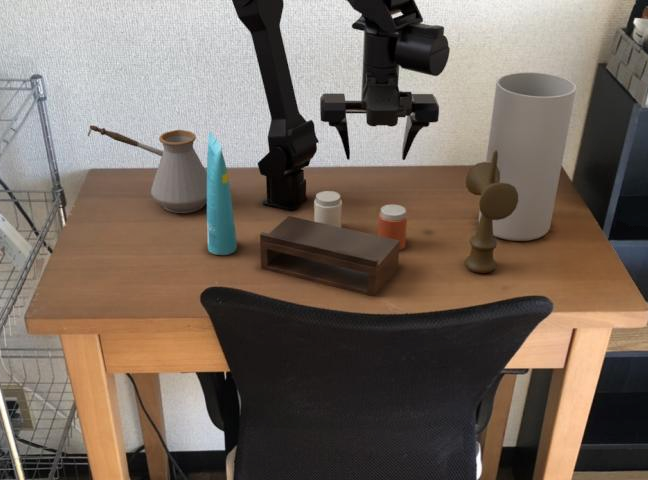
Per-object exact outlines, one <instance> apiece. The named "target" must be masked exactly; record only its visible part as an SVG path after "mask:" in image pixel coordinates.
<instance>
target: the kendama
mask: <svg viewBox="0 0 648 480" xmlns="http://www.w3.org/2000/svg"><path fill="white" fill-rule="evenodd" d="M497 159H498V152H497V150H495V151H494V153H493V157H492V162H491V163H489V162H486V161H482V162H479V163H475V164H474V165H473V166H471V167H470V169H469V170H467V171H468V172H467V174H466V177H465V184H466V185H465V187H466V189H467V191H468V192H469V193H471V194H472V195H475V196H480V197H479V201H478V208H479V209H478V210H479V212H481V213H482V214H481V218H480V221H479V220H478V225H477V228H476V230H475V233H474V235H473V236H471V237H470V239H469V244H470V246H471V247H470V253H469V255H468V256H467V257H466V258H465V260H464V265H465V267H466V268H467V270H469V271H471V272H474V273H478V274H486V273H491V272H492V271H494V270H495V269H496V268H497V264H496V261H495V259H494V250H495V249H496V247H497V246H498V241H497V239H495V236H493V220H500V219H504V218H506V217H508V216H510V215H511V214H512V213H513V211H514V210H515V209H516V206H517V203H518V193H517V191H516V188H515V187H514V186H512V185H510V184H508V183H499V182H500V171H499V169H498V167H497Z"/></svg>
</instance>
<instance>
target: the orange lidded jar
mask: <svg viewBox="0 0 648 480" xmlns="http://www.w3.org/2000/svg"><path fill="white" fill-rule="evenodd" d="M407 225H408V213H407V209H406V207H404V206H402V205H400V204H385V205H383V206H382V207H381V208H380V211H379V213H378V222H377V236H381V237H386V238H390V239H395V240H399V241H400V246H399V251H401V250H403V249H404V248H405V247H406V240H407V227H408V226H407Z"/></svg>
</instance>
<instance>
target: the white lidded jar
mask: <svg viewBox="0 0 648 480" xmlns="http://www.w3.org/2000/svg"><path fill="white" fill-rule="evenodd" d="M342 216H343V200H342V199H341V194H340V193H339V192H337V191H332V190H324V191H319V192H318V193H316V195H315V199H314V200H313V221H314V222H318V223H323V224H327V225H332V226H336V227H341V228H342V222H343V220H342Z"/></svg>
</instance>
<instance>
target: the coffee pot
mask: <svg viewBox="0 0 648 480" xmlns="http://www.w3.org/2000/svg"><path fill="white" fill-rule="evenodd" d="M92 131H94V132H95V133H96V132H98V133H99V134H100V135H101V136H107V137H109V138H111V139H113V140H114V141H117V142H121V143H124V144H126V145H130V146H133V147H137V148H140V149H142V150H145V151H147V152H150V153H152V154H155V155H157V156H160V160H159V163H158V167H157V171H156V173H155V176H154V179H153V182H152V186H151V189H150V193H151V197H152V198H153V200H154V201H155V202H156V203H157V204H158V205H160V206H161V207H162V208H164V210H166V211H168V212H171V213H175V214H189V213H193V212H197V211H200V209H202V208H203V207H205V205H207V170H206V169H205V167H204V164H203V163H202V162H201V159H200V157H199V156H198V154H197V152H196V150H195V148H194V142H195V141H196V139H197V136H196V134H195V133H194V132H192V131H189V130H185V129H175V130H170V131H166V132H163V133H162V134H160V135H159V137H158V140H159V142H160V143H161V144H162V146H163V150H161V149H158V148H156V147H153V146H150V145H147V144H144V143H141V142H139V141H137V140H134V139H132V138H130V137H128V136H126V135H123V134H120V133H118V132H115V131H111V130H106V127H102V128H101V127H98V126H97V125H92V124H90V126H89V130H88V133H87V137H90V135H91V133H92Z"/></svg>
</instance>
